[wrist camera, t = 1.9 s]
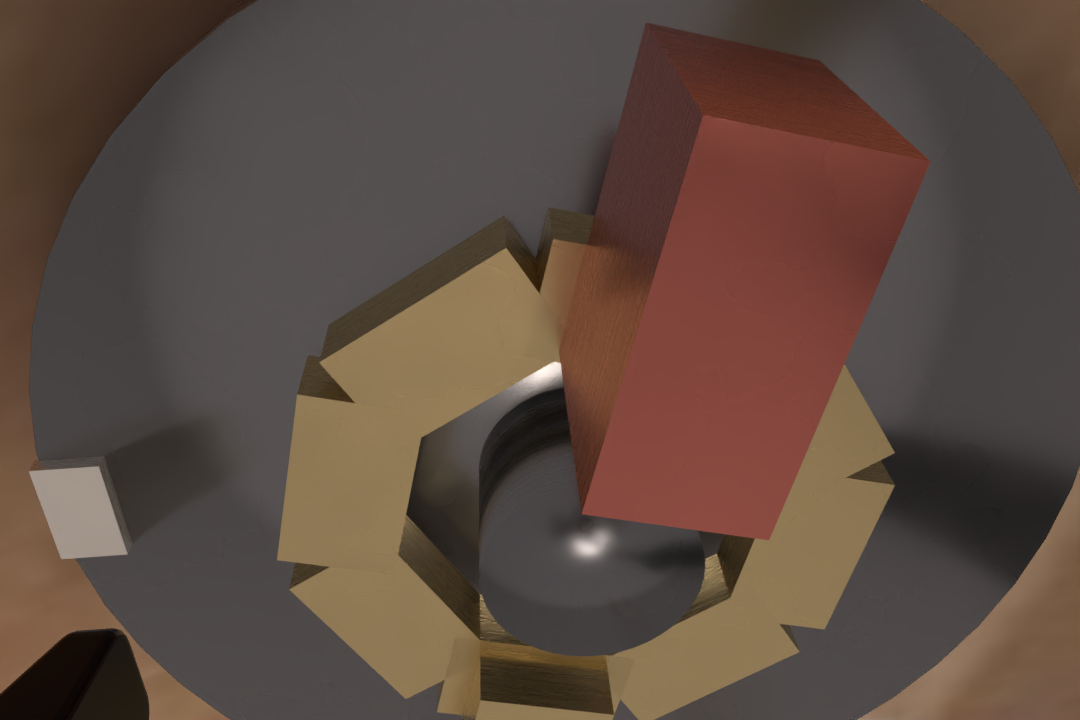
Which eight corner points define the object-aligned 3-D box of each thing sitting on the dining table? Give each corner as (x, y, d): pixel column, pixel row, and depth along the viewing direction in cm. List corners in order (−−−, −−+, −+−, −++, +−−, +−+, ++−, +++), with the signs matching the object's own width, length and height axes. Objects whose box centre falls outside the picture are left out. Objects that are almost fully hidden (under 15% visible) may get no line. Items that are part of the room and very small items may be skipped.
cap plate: (1185, 525, 22) (1317, 670, 18) (450, 857, 26) (447, 1024, 23) (813, -417, 13) (932, -473, 10) (-186, 316, 18) (-345, 453, 14)
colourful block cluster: (1043, 538, 20) (1204, 761, 16) (483, 799, 23) (486, 1046, 19) (741, -69, 14) (863, 16, 10) (40, 391, 17) (-109, 615, 13)
